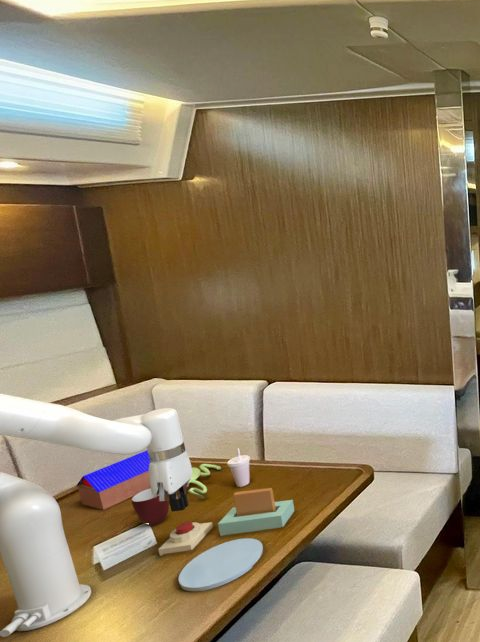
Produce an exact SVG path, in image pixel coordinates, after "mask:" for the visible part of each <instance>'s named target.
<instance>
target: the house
mask: <svg viewBox="0 0 480 642" xmlns="http://www.w3.org/2000/svg"><path fill="white" fill-rule="evenodd" d="M150 463H151V462H150V459H149V455H148V450H147V449H146V450H144V451H140V452H138V453H136V454H133V455H131V456H129V457H127V458H124V459H122V460H119V461H117V462H114V463H112V464H109V465H107V466H104V467H102V468H99V469H96V470H95V471H92V472H89V473H87V474H84V475H83V476H82V477H81V478H80V479H79V481H78V483H76V485H75V487H77V490H78V493H79V497H80V501H81V505H85V506H88V507H92V508H96V509H98V510H99V509H100V510H106V509H109V508H110V507H113V506H115V505H117V504H120V503H121V502H123V501H126V500H128V499H130V498H133V497H134V496H135V495H136V494H138V493H140V492H142V491H144V490H147V489H150V488H151V487H150V480H149V464H150Z"/></svg>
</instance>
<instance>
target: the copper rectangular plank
mask: <svg viewBox="0 0 480 642" xmlns="http://www.w3.org/2000/svg"><path fill="white" fill-rule="evenodd" d="M232 496H233V501H234V507H236V512H237V517H239V516H247V515H254V514H262V513H269V512H276V507H275V502H276V501H275V495H274V490H273V488H272V487H266V488H259V489H251V490H242V491H235V492H234V494H233V495H232Z"/></svg>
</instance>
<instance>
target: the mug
mask: <svg viewBox="0 0 480 642" xmlns="http://www.w3.org/2000/svg"><path fill="white" fill-rule="evenodd" d="M131 504H132V508H133V510H134V512H135V513H136V515H137V517H138V519H139V520H140V521H141V522H142V523H143V524H145V523H149V527H153V526H156V525H159V524H162V523H163V522H164V521H165V520H166V518H167V516H168V513H169V510H170V503H169V500H168V501H167V500H166V501H159V494H158V495H157V496H153V495H152V492H151V488H149V489H147V490H144V491H142V492H140V493H138V494H136V495H134V496H132V497H131Z"/></svg>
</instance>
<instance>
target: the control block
mask: <svg viewBox="0 0 480 642" xmlns="http://www.w3.org/2000/svg"><path fill="white" fill-rule="evenodd" d="M192 524H193V529H192V530H191V531H189V532H188V533H185V534H181V535H178V534H177V532H176V528H175V529H173V530H172V531H171V532H170V534H169V538H168V539H167V540H166V541H165V542H164V543H163V544H162V545H161V546H160V547H159V548H158V555H159V556H160V557H162V556H163V555H167V554H173V553H180V552H187V551H192V550H194V548H195V547H196V546H197V545H198V544H199V543H200V542H201V541H202V540H203V539H204V537H205V536H206V535H208V533H209V532H210V531H211V530H212V529H213V527H214V526H213V525H214V524H213V521H211V522H203V523H199V522H196V521H195V522H192Z"/></svg>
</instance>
